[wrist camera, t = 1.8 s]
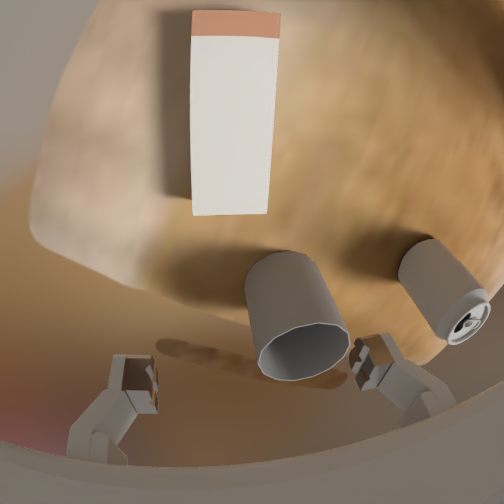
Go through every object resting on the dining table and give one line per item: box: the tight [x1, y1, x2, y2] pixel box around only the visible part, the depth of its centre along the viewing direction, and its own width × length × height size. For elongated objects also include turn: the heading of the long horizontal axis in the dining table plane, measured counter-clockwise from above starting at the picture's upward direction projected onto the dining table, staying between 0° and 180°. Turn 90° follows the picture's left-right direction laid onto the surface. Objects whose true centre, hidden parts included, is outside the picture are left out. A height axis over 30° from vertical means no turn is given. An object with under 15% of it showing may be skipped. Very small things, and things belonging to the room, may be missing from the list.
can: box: [398, 239, 490, 345], centre depth 30 cm, size 8×8×12 cm
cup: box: [244, 250, 351, 381], centre depth 30 cm, size 8×8×10 cm
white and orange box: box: [190, 10, 281, 216], centre depth 22 cm, size 6×16×3 cm, turn 177°
